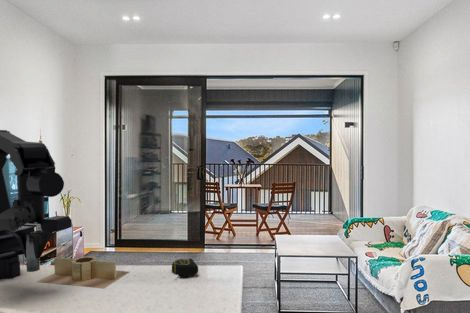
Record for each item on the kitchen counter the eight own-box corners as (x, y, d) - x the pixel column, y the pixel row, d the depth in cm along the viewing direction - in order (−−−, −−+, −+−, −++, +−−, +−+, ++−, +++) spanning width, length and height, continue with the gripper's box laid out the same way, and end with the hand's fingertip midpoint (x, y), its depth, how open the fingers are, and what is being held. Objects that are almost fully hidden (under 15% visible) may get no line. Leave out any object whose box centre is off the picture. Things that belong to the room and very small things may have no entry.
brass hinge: (46, 278, 95) (46, 261, 95) (63, 270, 101) (63, 254, 101) (108, 283, 91) (108, 266, 91) (121, 275, 97) (121, 258, 97)
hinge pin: (23, 271, 87) (22, 234, 87) (33, 267, 90) (32, 231, 89) (33, 272, 86) (32, 235, 86) (42, 268, 89) (41, 232, 89)
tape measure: (199, 277, 97) (198, 263, 97) (173, 280, 95) (173, 266, 95) (194, 269, 104) (193, 256, 104) (170, 272, 102) (170, 259, 102)
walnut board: (36, 285, 93) (36, 281, 93) (68, 270, 104) (68, 266, 104) (104, 292, 88) (103, 288, 88) (130, 275, 99) (130, 271, 99)
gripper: (-31, 198, 82) (-29, 265, 82) (37, 199, 77) (39, 271, 78) (10, 192, 93) (12, 251, 93) (72, 193, 88) (74, 256, 88)
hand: (32, 257), depth 88 cm, fingers closed on hinge pin, 3 cm apart
